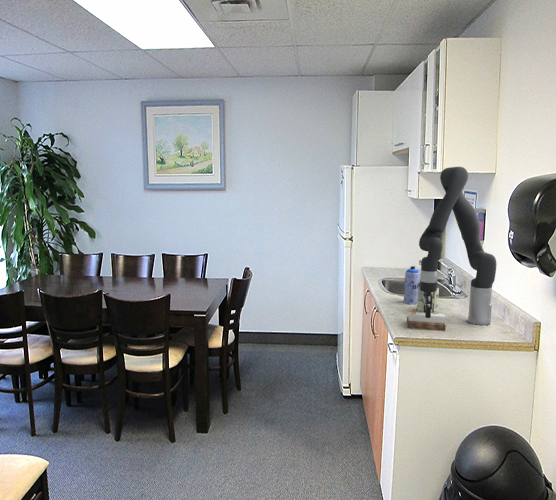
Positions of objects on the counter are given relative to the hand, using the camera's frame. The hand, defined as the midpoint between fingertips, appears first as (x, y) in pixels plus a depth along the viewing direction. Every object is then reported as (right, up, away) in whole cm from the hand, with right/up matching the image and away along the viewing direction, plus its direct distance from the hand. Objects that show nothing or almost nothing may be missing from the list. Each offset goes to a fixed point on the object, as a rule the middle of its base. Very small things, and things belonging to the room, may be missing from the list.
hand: (426, 315), depth 219 cm
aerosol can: (+4, +1, +41) cm, 42 cm away
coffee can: (+8, -2, +26) cm, 27 cm away
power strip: (0, -5, +1) cm, 5 cm away
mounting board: (0, -5, +1) cm, 5 cm away
